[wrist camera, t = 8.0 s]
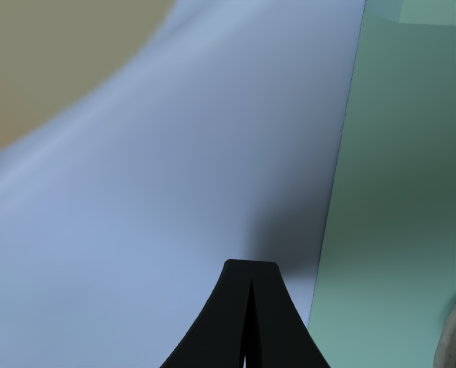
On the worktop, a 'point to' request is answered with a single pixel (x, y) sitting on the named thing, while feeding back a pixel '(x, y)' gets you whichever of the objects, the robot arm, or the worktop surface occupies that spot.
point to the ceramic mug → (447, 343)
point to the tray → (393, 195)
